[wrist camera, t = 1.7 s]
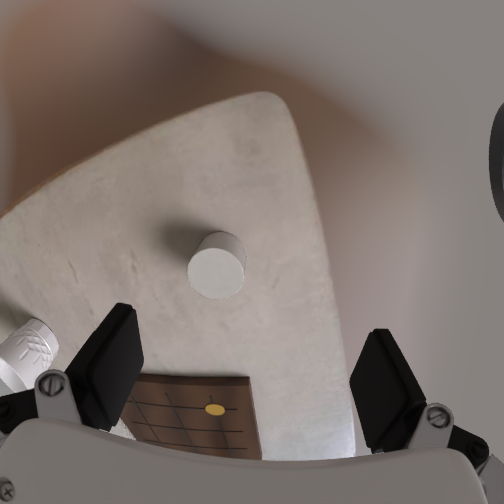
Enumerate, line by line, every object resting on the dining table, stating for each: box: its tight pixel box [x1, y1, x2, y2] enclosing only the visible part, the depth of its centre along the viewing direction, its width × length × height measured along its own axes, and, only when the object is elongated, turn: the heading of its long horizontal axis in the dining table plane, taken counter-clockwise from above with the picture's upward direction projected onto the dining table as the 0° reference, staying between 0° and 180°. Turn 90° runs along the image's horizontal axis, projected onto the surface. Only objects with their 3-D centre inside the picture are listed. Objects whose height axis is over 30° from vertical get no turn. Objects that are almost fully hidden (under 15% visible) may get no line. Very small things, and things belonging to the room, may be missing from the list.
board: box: [120, 374, 262, 460], centre depth 36 cm, size 22×22×2 cm
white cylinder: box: [187, 232, 247, 300], centre depth 24 cm, size 5×5×4 cm
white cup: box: [0, 318, 59, 393], centre depth 27 cm, size 8×8×10 cm
